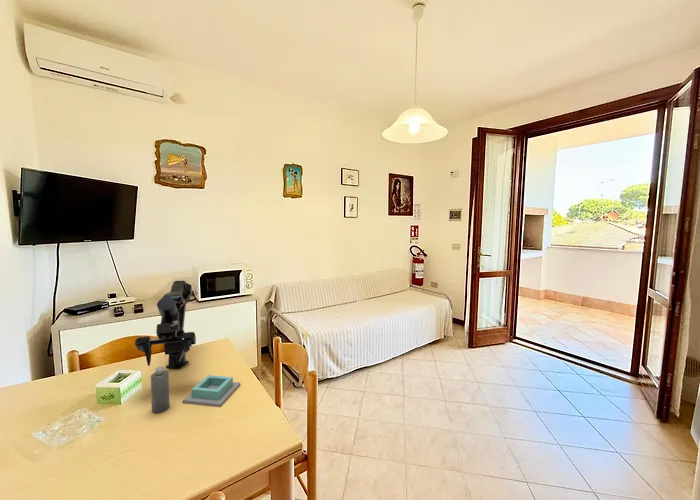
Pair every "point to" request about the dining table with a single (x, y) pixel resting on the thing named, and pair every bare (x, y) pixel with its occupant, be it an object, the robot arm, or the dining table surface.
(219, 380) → the socket
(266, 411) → the dining table surface
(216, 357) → the dining table surface
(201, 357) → the dining table surface
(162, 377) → the plug
